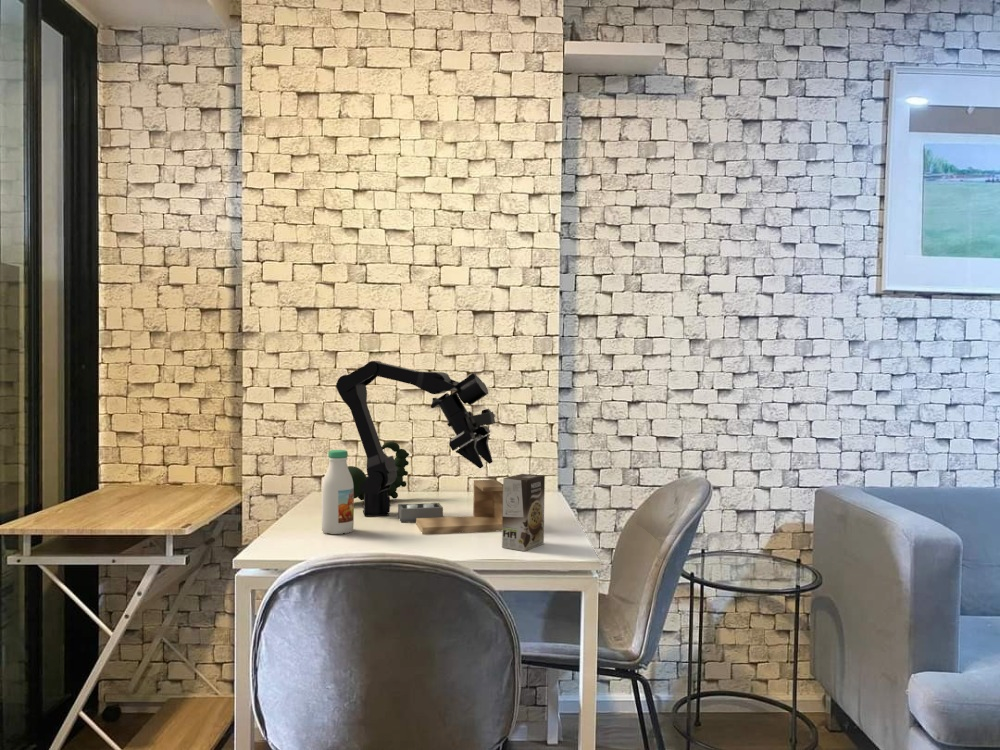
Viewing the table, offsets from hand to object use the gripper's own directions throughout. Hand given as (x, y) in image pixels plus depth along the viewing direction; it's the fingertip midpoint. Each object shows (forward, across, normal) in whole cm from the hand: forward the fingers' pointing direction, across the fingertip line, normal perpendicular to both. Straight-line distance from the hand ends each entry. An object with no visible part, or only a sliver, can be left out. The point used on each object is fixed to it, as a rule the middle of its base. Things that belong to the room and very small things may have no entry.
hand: (486, 465), depth 207 cm
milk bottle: (-4, -22, +35) cm, 42 cm away
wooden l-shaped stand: (+10, -8, +11) cm, 18 cm away
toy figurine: (-9, +14, +42) cm, 45 cm away
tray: (+3, -2, +23) cm, 23 cm away
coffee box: (+21, -22, -5) cm, 31 cm away
